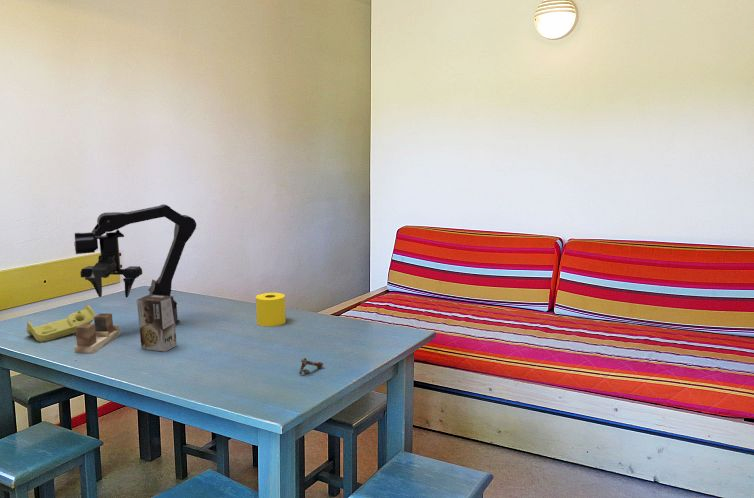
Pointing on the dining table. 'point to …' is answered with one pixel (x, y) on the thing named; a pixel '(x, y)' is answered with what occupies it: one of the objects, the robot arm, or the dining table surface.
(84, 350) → the rail
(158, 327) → the coffee box
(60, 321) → the plastic component
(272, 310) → the yellow hollow cylinder
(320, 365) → the brown triangular bracket
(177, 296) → the dining table surface
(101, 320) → the walnut finger
